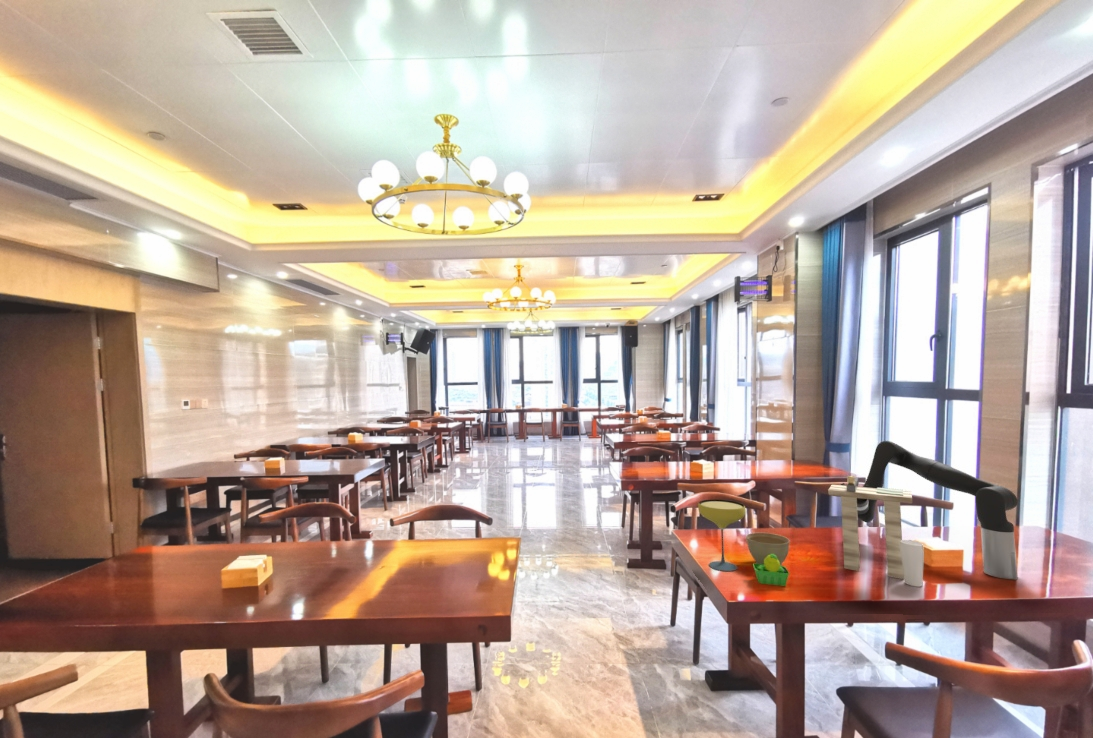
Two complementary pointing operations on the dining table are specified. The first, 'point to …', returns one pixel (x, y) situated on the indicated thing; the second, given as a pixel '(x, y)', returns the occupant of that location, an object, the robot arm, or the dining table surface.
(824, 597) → the dining table surface
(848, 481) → the crank handle
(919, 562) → the drinking glass
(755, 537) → the planter bowl
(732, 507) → the cocktail glass
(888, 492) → the shelf
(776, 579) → the fruit basket
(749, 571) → the dining table surface
